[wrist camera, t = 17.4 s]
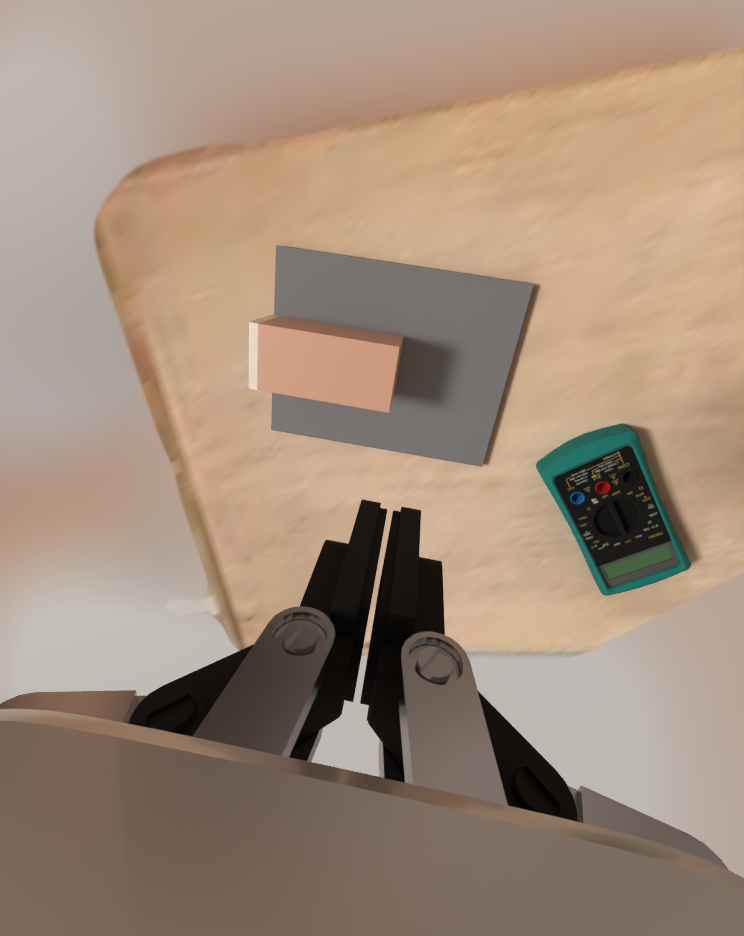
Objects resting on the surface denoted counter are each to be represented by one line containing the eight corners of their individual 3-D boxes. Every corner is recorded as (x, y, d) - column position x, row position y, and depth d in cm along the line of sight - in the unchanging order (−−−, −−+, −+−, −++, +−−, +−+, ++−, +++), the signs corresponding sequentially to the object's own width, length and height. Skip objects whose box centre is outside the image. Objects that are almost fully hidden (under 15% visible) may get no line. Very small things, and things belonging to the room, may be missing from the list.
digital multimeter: (621, 413, 32) (637, 426, 30) (679, 553, 37) (698, 575, 34) (529, 455, 35) (537, 470, 32) (595, 581, 40) (606, 603, 37)
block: (399, 346, 27) (249, 322, 27) (388, 412, 29) (249, 388, 29) (403, 336, 31) (272, 314, 31) (393, 394, 33) (270, 373, 34)
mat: (531, 283, 29) (533, 283, 28) (481, 463, 35) (482, 466, 35) (278, 245, 30) (276, 245, 29) (273, 427, 36) (271, 429, 36)
